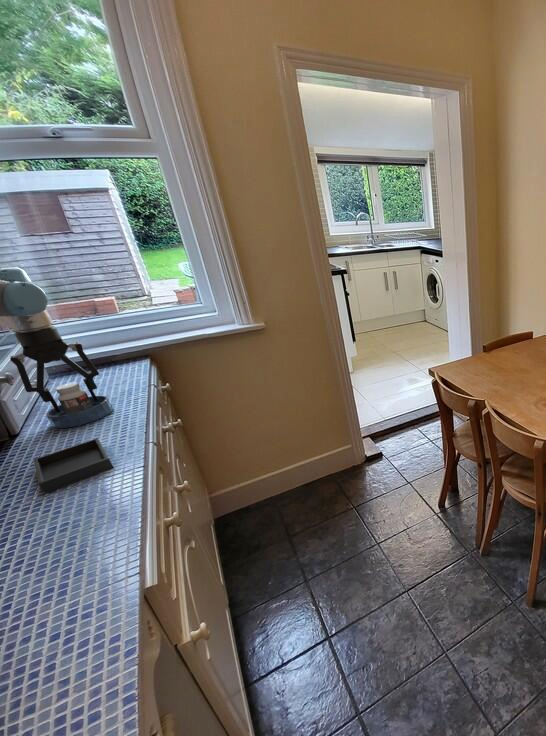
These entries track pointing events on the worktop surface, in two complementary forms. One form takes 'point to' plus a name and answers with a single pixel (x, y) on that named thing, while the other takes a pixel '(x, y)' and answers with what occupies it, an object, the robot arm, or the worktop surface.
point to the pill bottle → (73, 398)
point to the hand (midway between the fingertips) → (77, 405)
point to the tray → (71, 465)
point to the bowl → (80, 414)
